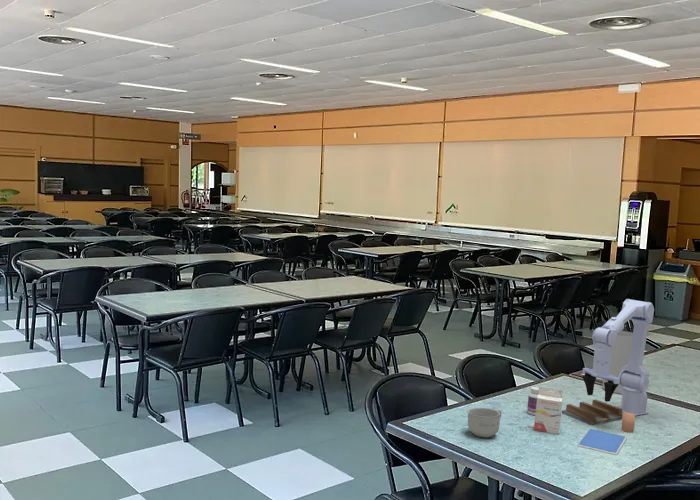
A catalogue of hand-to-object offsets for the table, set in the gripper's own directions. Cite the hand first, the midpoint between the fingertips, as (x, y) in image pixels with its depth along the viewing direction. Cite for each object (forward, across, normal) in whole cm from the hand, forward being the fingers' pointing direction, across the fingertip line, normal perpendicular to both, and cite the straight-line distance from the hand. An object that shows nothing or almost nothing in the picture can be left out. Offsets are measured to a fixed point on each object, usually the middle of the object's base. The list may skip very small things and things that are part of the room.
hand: (598, 398), depth 242 cm
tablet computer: (+10, +13, -13) cm, 22 cm away
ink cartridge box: (+10, -3, -23) cm, 25 cm away
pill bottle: (+10, -18, -13) cm, 24 cm away
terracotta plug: (+10, +9, +6) cm, 14 cm away
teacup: (+10, -8, -46) cm, 48 cm away
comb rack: (+10, -7, +7) cm, 14 cm away
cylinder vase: (+10, -27, +47) cm, 55 cm away
